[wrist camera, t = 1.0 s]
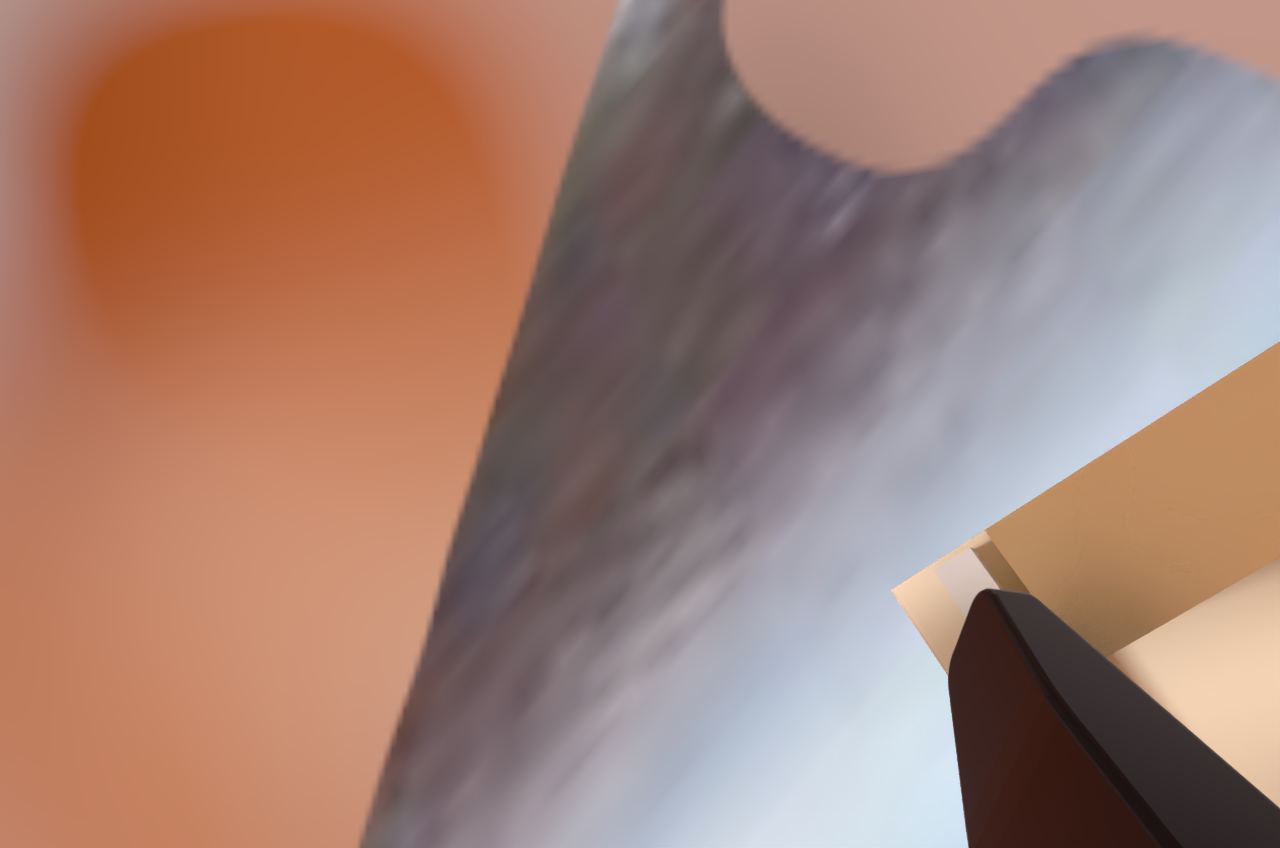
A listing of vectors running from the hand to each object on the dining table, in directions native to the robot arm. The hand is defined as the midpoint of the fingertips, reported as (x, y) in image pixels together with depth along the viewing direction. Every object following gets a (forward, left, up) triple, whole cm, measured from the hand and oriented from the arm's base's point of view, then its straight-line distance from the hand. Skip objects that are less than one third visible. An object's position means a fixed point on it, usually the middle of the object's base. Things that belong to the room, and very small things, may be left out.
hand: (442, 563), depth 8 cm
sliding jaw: (-2, -8, -18) cm, 20 cm away
